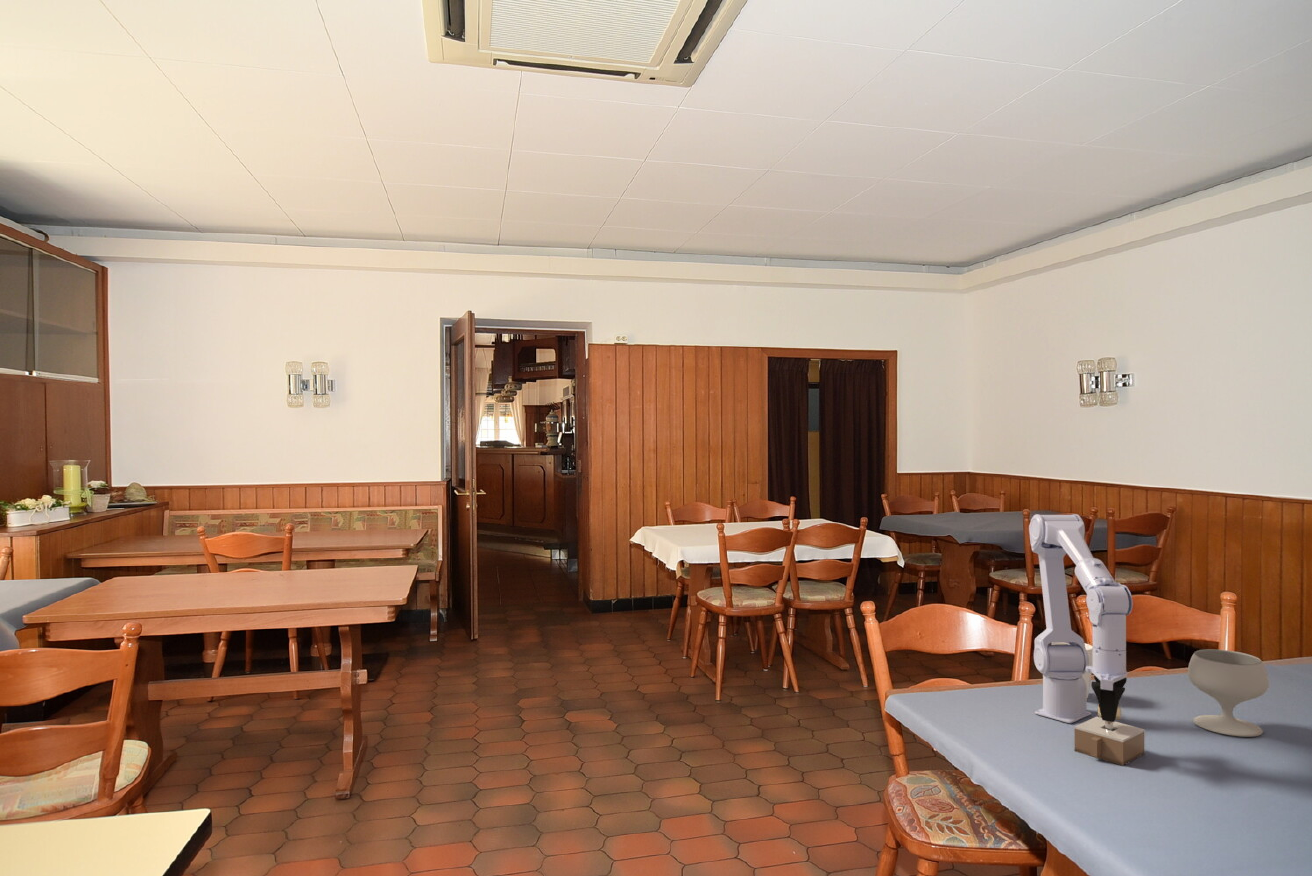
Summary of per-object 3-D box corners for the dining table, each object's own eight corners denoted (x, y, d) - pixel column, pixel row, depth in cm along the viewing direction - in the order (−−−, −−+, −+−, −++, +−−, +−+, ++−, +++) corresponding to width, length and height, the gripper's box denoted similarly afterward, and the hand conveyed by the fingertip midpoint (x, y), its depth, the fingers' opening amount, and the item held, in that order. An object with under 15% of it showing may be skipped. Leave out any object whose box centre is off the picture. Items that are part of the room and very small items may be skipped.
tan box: (1096, 740, 166) (1096, 716, 166) (1144, 754, 159) (1144, 729, 159) (1070, 753, 159) (1069, 728, 159) (1118, 768, 152) (1118, 742, 152)
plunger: (1103, 734, 162) (1103, 702, 162) (1124, 740, 159) (1124, 707, 159) (1093, 739, 160) (1093, 706, 160) (1115, 745, 157) (1115, 712, 157)
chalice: (1272, 745, 163) (1272, 670, 162) (1188, 732, 170) (1188, 659, 170) (1265, 723, 174) (1265, 653, 174) (1187, 711, 182) (1187, 644, 182)
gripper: (1089, 636, 168) (1089, 702, 168) (1082, 653, 155) (1082, 724, 156) (1128, 641, 164) (1129, 708, 164) (1125, 658, 152) (1125, 731, 152)
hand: (1109, 717), depth 160 cm, fingers closed on plunger, 4 cm apart
